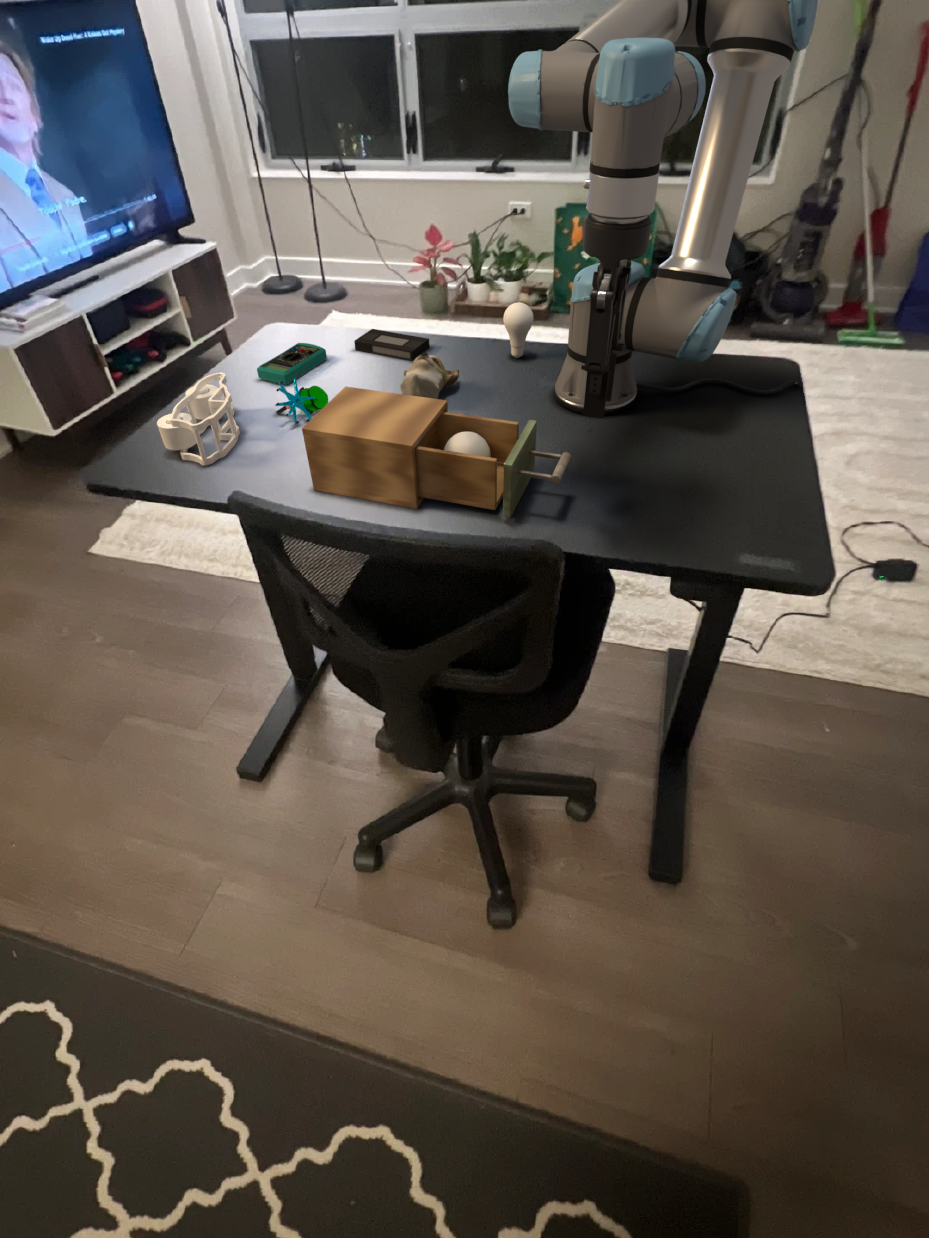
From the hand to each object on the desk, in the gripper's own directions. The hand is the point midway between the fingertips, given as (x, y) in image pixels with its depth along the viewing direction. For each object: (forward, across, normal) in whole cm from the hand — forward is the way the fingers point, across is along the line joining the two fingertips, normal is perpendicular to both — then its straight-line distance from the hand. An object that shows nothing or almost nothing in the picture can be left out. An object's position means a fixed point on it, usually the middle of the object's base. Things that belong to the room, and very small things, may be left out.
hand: (597, 407), depth 96 cm
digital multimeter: (+17, -32, -68) cm, 77 cm away
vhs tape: (+17, -48, -52) cm, 73 cm away
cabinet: (+17, 0, -34) cm, 37 cm away
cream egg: (+15, 0, -18) cm, 23 cm away
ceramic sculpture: (+17, -29, -37) cm, 50 cm away
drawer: (+16, 0, -15) cm, 22 cm away
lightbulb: (+17, -51, -25) cm, 59 cm away
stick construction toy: (+17, -15, -57) cm, 62 cm away
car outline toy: (+17, -3, -68) cm, 71 cm away
